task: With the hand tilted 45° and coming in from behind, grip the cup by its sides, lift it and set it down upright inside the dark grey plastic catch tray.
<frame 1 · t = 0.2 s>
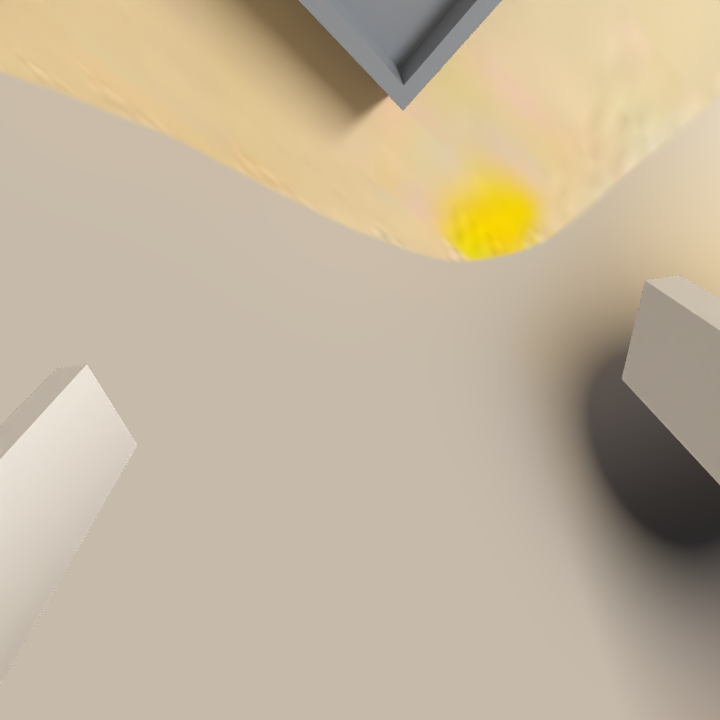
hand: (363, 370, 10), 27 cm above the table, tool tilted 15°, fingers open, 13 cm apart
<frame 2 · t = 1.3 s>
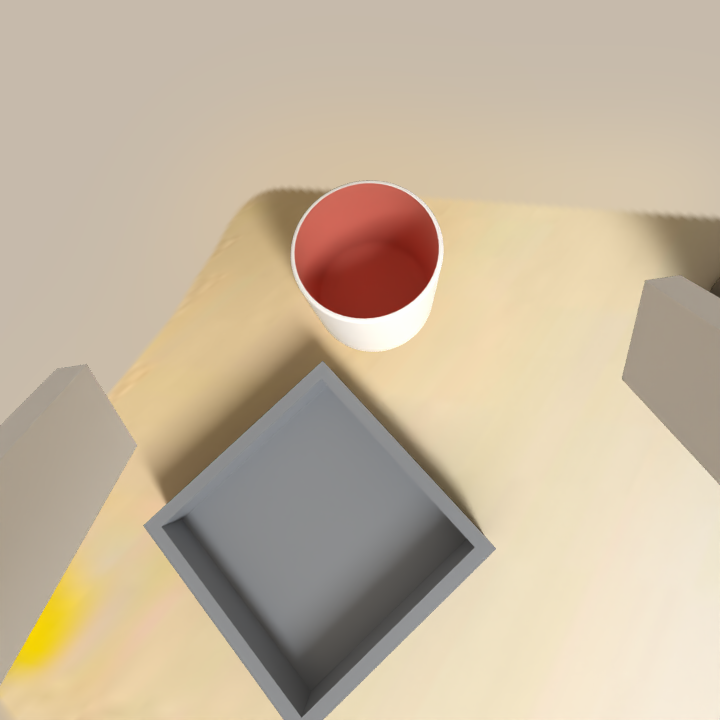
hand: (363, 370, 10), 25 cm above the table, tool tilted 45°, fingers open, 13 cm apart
catch tray: (322, 525, 34), on the table
cup: (374, 300, 37), on the table
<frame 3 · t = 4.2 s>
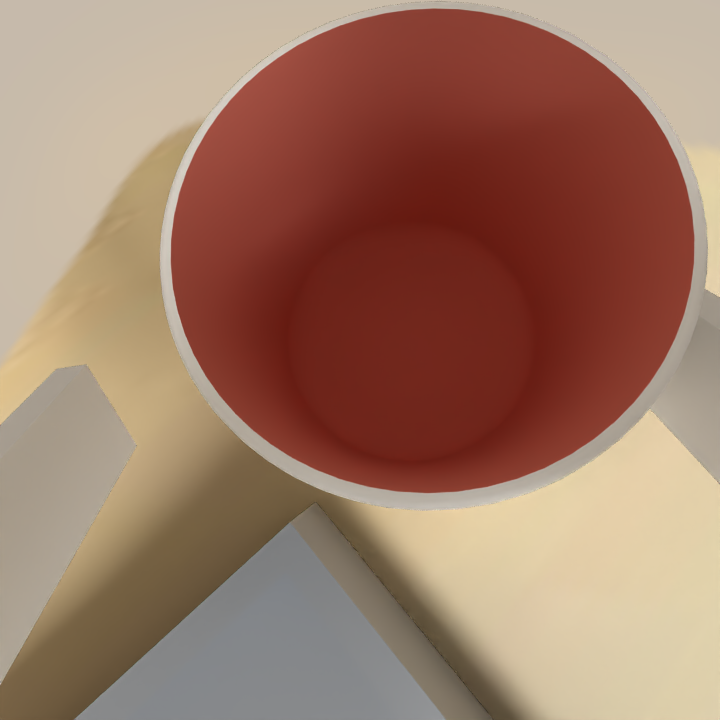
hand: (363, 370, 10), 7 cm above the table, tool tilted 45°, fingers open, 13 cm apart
cup: (407, 344, 18), on the table, touching gripper
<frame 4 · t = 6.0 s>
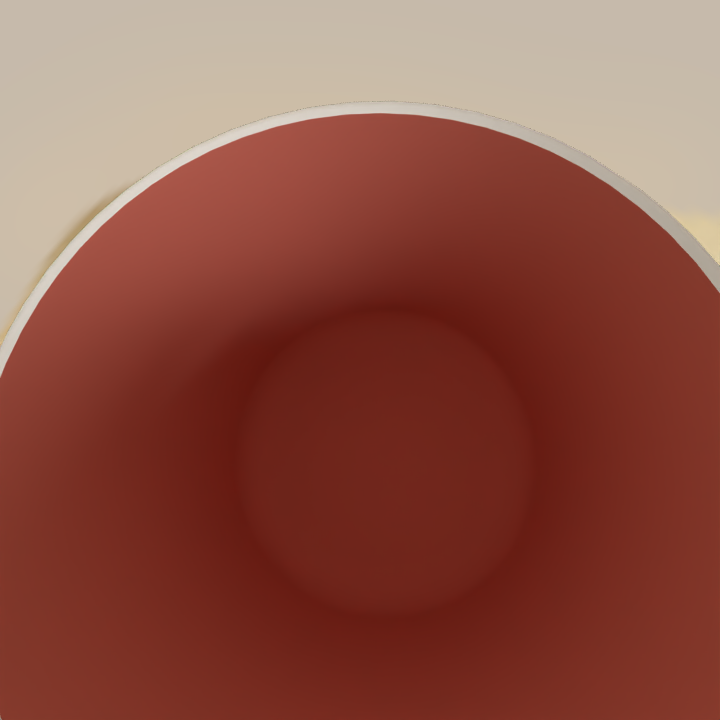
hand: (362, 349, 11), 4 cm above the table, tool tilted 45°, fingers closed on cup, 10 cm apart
cup: (382, 451, 15), on the table, touching gripper
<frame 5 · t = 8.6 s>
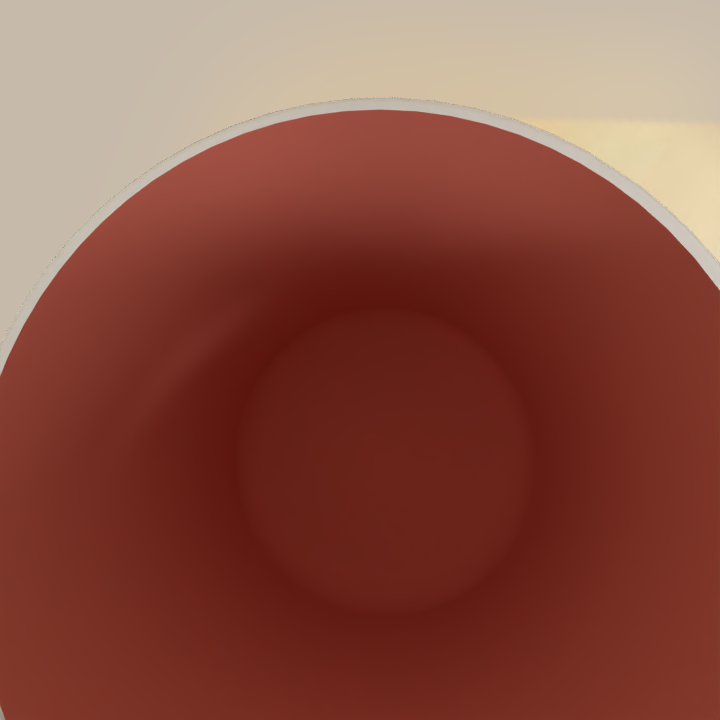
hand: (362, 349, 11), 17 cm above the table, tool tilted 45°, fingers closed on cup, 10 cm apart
cup: (382, 450, 15), point 13 cm above the table, touching gripper
when the fingers open (6 cm above the table, at t = 11.6 s): cup stays where it is, resting on catch tray.
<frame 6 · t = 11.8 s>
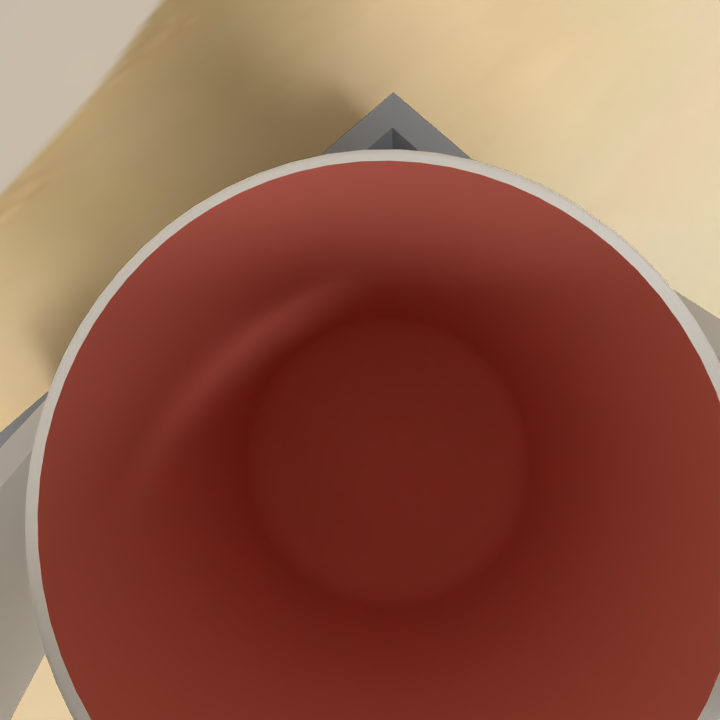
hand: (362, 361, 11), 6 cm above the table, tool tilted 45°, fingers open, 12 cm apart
catch tray: (384, 457, 16), on the table
cup: (385, 451, 16), point 1 cm above the table, touching catch tray
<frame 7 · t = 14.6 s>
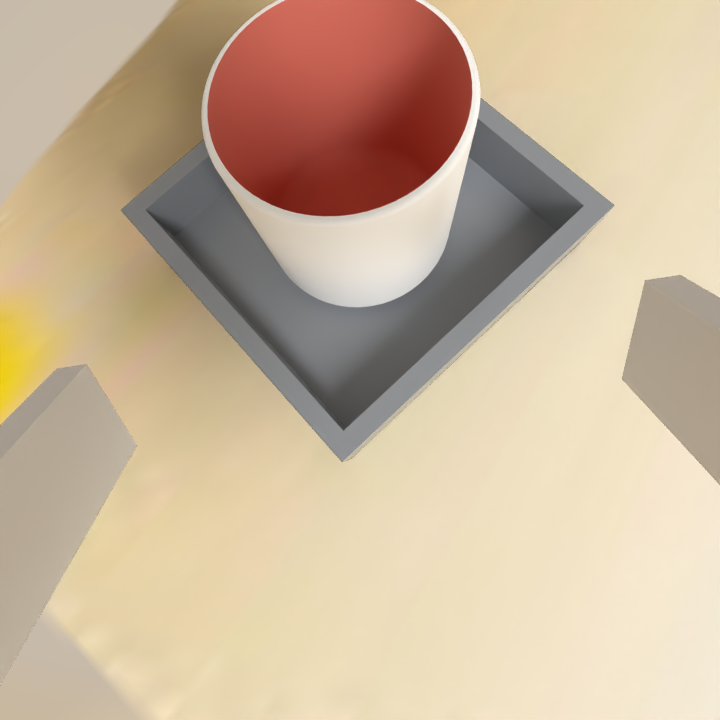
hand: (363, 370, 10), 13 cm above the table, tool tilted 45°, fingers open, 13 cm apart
catch tray: (360, 243, 26), on the table
cup: (360, 233, 25), point 1 cm above the table, touching catch tray
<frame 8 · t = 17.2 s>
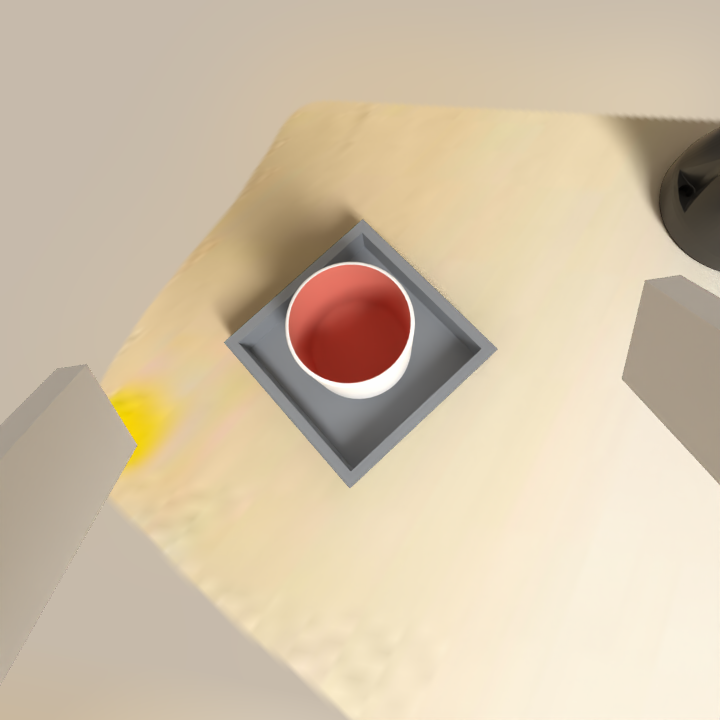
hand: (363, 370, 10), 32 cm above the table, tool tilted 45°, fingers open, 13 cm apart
catch tray: (360, 354, 43), on the table
cup: (360, 350, 42), point 1 cm above the table, touching catch tray
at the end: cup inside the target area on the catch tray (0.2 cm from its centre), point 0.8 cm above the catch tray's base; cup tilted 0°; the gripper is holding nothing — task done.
